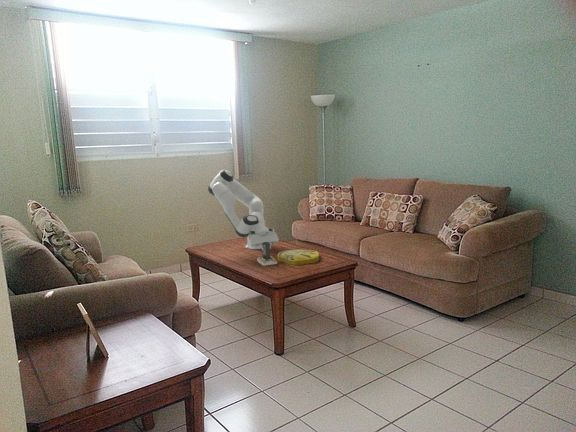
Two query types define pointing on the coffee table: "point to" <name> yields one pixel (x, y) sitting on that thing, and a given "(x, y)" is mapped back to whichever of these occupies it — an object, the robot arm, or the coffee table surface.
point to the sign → (298, 256)
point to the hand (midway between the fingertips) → (266, 249)
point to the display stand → (267, 261)
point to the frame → (266, 251)
